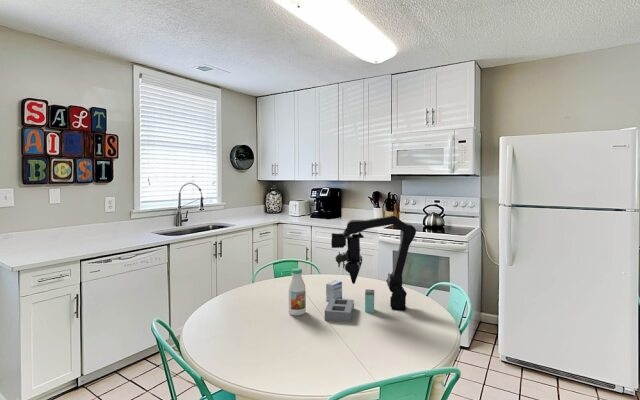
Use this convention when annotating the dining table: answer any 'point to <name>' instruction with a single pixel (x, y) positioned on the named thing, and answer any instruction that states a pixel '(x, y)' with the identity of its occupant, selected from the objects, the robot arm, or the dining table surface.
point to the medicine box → (334, 290)
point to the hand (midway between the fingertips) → (354, 280)
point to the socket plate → (339, 310)
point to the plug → (369, 301)
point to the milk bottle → (296, 294)
